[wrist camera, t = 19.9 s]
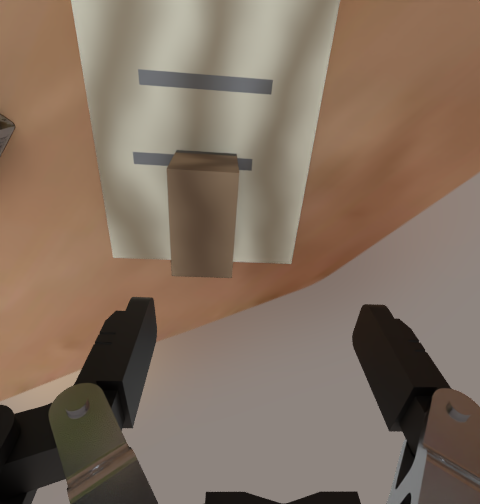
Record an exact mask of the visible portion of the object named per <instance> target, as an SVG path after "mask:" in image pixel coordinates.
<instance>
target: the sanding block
mask: <svg viewBox="0 0 480 504" xmlns="http://www.w3.org/2000/svg"><path fill="white" fill-rule="evenodd" d="M238 185H239V167H238V160H237V154H233V153H217V152H201V151H185V150H176V152H175V154H174V156H173V158H172V159H171V161H170V163H169V165H168V167H167V189H168V210H169V230H170V250H171V271H172V276H185V277H216V278H232V268H233V254H234V240H235V226H236V213H237V199H238Z"/></svg>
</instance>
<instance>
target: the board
mask: <svg viewBox="0 0 480 504" xmlns="http://www.w3.org/2000/svg"><path fill="white" fill-rule="evenodd" d="M71 3H72V9H73V15H74V21H75V27H76V33H77V39H78V46H79V52H80V58H81V64H82V70H83V76H84V82H85V88H86V94H87V101H88V107H89V113H90V119H91V125H92V131H93V137H94V143H95V149H96V156H97V162H98V168H99V174H100V180H101V186H102V192H103V198H104V204H105V211H106V217H107V223H108V229H109V235H110V241H111V247H112V253H113V258H137V259H166V260H171V250H170V230H169V210H168V189H167V167H168V165H169V163H170V161H171V159H172V158H173V156H174V154H175V152H176V150H185V151H201V152H217V153H233V154H237V160H238V167H239V185H238V199H237V213H236V226H235V240H234V254H233V262H253V263H282V264H291V262H292V257H293V251H294V246H295V240H296V235H297V230H298V224H299V219H300V213H301V208H302V203H303V197H304V192H305V186H306V181H307V176H308V170H309V165H310V159H311V154H312V149H313V143H314V138H315V132H316V127H317V122H318V116H319V111H320V105H321V100H322V95H323V89H324V84H325V78H326V73H327V67H328V62H329V57H330V51H331V46H332V40H333V35H334V30H335V24H336V19H337V13H338V8H339V3H340V0H71Z"/></svg>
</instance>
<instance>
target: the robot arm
mask: <svg viewBox="0 0 480 504" xmlns="http://www.w3.org/2000/svg"><path fill="white" fill-rule="evenodd" d="M156 337H157V325H156V316H155V307H154V300H153V298H145V297H132V298H131V299H130V302H129V304H128V306H127V309H126V311H115V312H114V313H113V314H112V315H111V316H110V317H109V318H108V319H107V320H106V321H105V323H104V325H103V327H102V329H101V331H100V335H98V337H97V339H96V341H95V345H93V347H92V349H91V351H90V353H89V355H88V358H87V360H86V362H85V364H84V366H83V368H82V370H81V372H80V374H79V376H78V378H77V380H76V382H75V384H74V385H73V386H71V387H69V388H68V389H66V390H64V391H63V392H62V393H61V394H59V395H58V396H57V397H56V399H55V400H54V401H53V403H50V404H48V405H45V406H42V407H38V408H35V409H31V410H27V411H24V412H20V413H16V414H14V413H13V411H12V410H11V409H10V408H9V407H7V406H4V405H0V504H31V503H32V501H33V498H34V496H35V493H36V491H37V489H38V488H40V487H43V486H46V485H49V484H52V483H55V482H58V481H61V480H64V479H66V481H67V485H68V488H67V492H68V497H69V501H70V504H158V502H157V500H156V498H155V496H154V493H153V491H152V489H151V487H150V485H149V483H148V481H147V479H146V476H145V474H144V472H143V470H142V468H141V466H140V464H139V462H138V460H137V458H136V455H135V453H134V452H133V450H132V449H131V447H129V446H128V444H127V442H126V440H125V438H124V436H123V434H122V428H133V425H134V421H135V417H136V414H137V410H138V406H139V402H140V398H141V395H142V391H143V387H144V384H145V380H146V377H147V372H148V369H149V366H150V362H151V358H152V354H153V351H154V347H155V343H156ZM352 340H353V347H354V350H355V352H356V355H357V357H358V359H359V362H360V364H361V366H362V369H363V371H364V373H365V376H366V378H367V380H368V383H369V385H370V387H371V390H372V392H373V394H374V397H375V399H376V401H377V404H378V406H379V408H380V411H381V413H382V415H383V418H384V420H385V422H386V425H387V427H388V429H389V431H403V433H404V436H405V438H406V439H405V441H404V443H403V446H402V450H401V454H400V457H399V462H398V465H397V469H396V473H395V477H394V481H393V485H392V488H391V492H390V495H389V498H388V501H387V503H386V504H480V407H479V406H478V405H477V404H476V403H475V402H474V401H473V400H472V399H471V398H469V397H468V396H466V395H465V394H463V393H461V392H459V391H456V390H453V389H451V388H450V386H449V385H448V383H447V382H446V380H445V379H444V377H443V376H442V374H441V373H440V371H439V370H438V368H437V367H436V365H435V364H434V362H433V361H432V359H431V358H430V356H429V355H428V353H426V352H425V349H424V347H423V346H422V344H421V343H419V340H418V339H417V337H416V336H415V334H414V333H413V331H412V330H411V328H409V327H408V326H407V325H406V324H405V323H403V322H402V321H401V320H400V319H394V317H393V316H392V314H391V312H390V311H389V309H388V308H387V307H386V306H385V305H368V304H365V305H363V306H362V308H361V311H360V314H359V316H358V320H357V323H356V326H355V328H354V331H353V336H352ZM205 504H281V503H278V502H275V501H271V500H268V499H265V498H262V497H259V496H255V495H252V494H249V493H246V492H206V500H205ZM286 504H361V503H360V499H359V496H358V493H357V492H319V493H316V494H313V495H310V496H307V497H304V498H301V499H298V500H296V501H292V502H290V503H286Z"/></svg>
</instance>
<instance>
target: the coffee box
mask: <svg viewBox="0 0 480 504" xmlns="http://www.w3.org/2000/svg"><path fill="white" fill-rule="evenodd" d="M14 128H15V126H14V124H13V123H12V122H11V121H10V120H8V119H7V118H5V117H4V116H2V115H1V114H0V156H1V154H2V152H3V150H4V148H5V146H6V144H7V142H8V140H9V138H10V136H11V134H12V132H13V130H14Z"/></svg>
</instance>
